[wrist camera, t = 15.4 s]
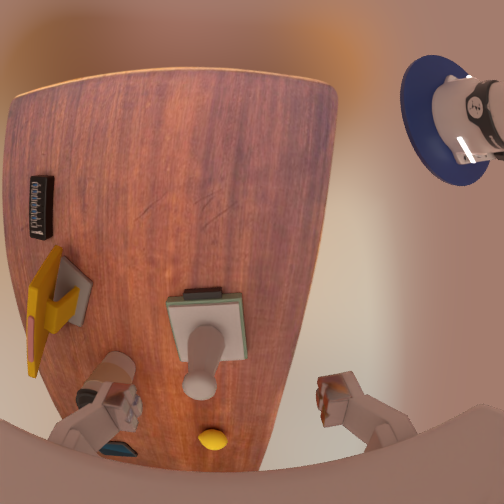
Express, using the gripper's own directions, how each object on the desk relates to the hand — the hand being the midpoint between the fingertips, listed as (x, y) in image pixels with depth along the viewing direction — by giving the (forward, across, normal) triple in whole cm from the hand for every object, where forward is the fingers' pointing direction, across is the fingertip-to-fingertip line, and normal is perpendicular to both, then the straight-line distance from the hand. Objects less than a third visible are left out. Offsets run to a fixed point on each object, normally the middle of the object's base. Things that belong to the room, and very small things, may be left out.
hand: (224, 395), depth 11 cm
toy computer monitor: (+31, +32, +9) cm, 46 cm away
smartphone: (+31, +44, +62) cm, 82 cm away
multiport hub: (+31, +34, -8) cm, 47 cm away
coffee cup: (+31, +26, +25) cm, 48 cm away
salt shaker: (+28, +6, +16) cm, 33 cm away
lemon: (+31, +10, +47) cm, 57 cm away
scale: (+31, +6, +16) cm, 35 cm away
